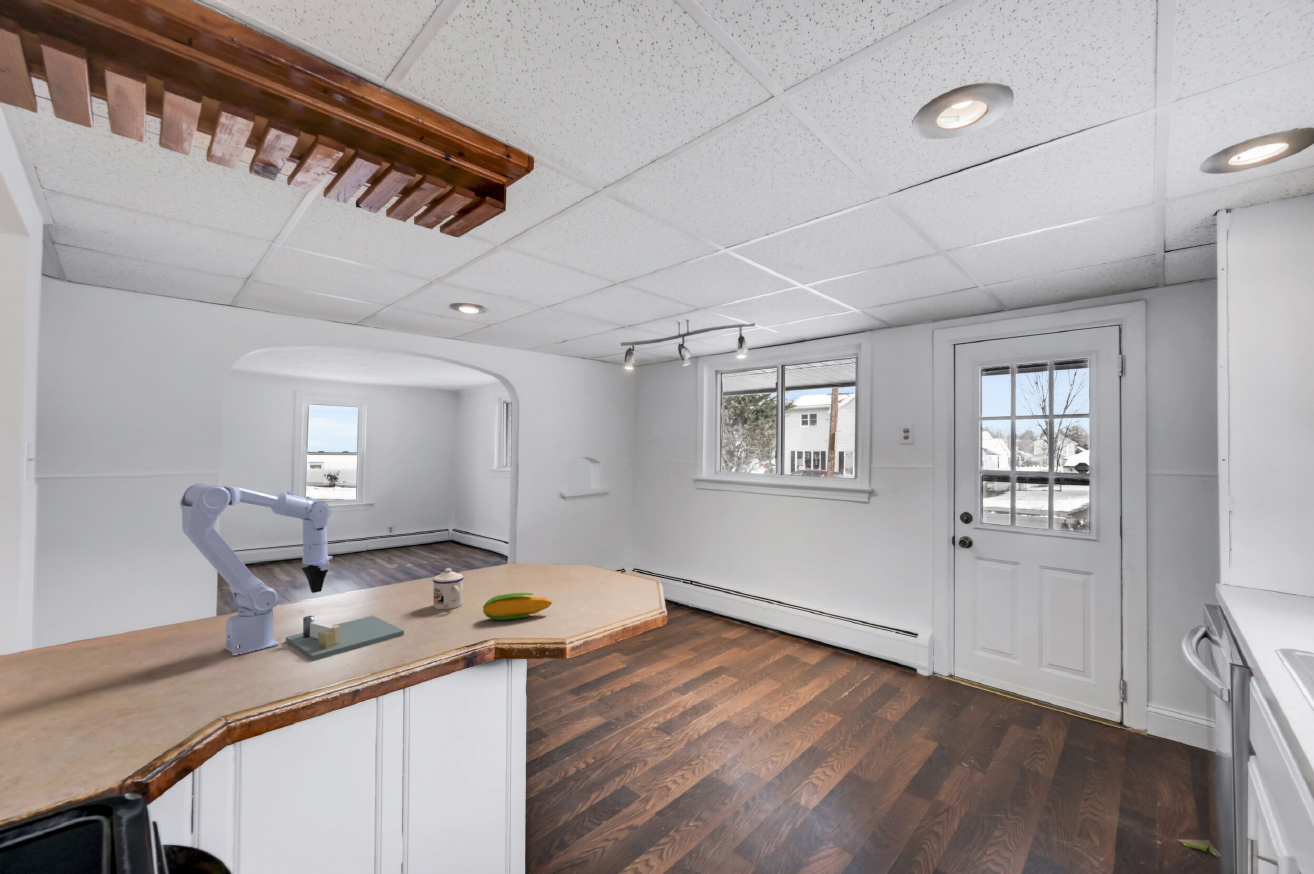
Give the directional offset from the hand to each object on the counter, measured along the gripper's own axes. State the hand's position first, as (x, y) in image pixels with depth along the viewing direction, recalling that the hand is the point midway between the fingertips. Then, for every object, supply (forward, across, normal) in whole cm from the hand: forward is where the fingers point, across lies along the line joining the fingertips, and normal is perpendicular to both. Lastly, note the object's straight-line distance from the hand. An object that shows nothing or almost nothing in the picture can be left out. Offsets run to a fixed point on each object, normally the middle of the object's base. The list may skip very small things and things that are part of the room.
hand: (316, 591), depth 151 cm
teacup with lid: (+11, -10, -34) cm, 37 cm away
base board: (+10, -14, -2) cm, 17 cm away
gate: (+9, -15, +3) cm, 17 cm away
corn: (+12, -35, -42) cm, 56 cm away
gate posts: (+9, -14, +4) cm, 17 cm away
